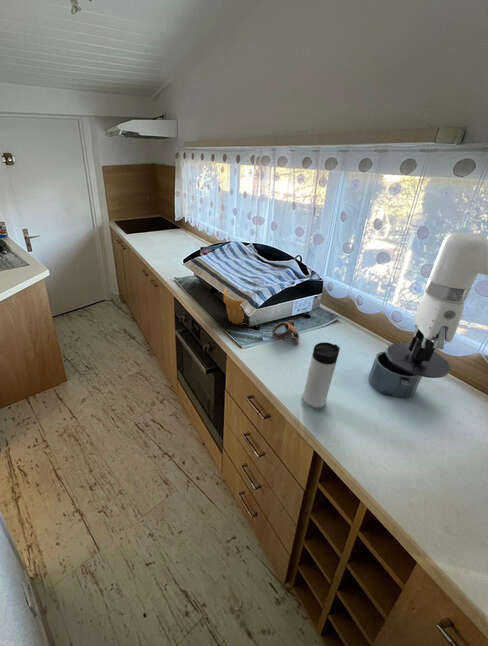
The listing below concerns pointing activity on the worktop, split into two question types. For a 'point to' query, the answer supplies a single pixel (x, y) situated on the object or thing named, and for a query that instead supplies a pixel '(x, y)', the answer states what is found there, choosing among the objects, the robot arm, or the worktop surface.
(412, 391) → the pot
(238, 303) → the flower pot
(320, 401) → the travel mug
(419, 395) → the worktop surface
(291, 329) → the brown goggles
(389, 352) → the lid
